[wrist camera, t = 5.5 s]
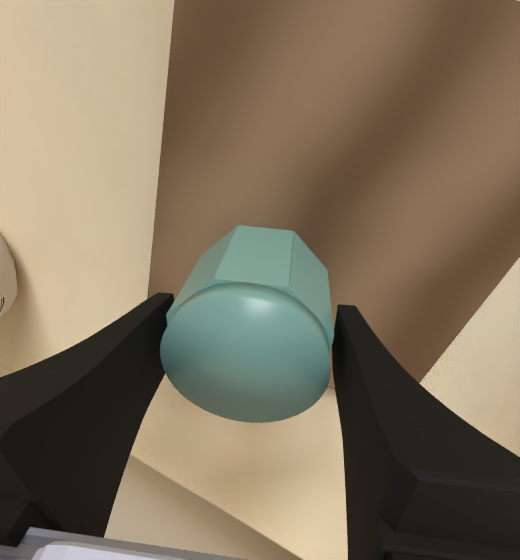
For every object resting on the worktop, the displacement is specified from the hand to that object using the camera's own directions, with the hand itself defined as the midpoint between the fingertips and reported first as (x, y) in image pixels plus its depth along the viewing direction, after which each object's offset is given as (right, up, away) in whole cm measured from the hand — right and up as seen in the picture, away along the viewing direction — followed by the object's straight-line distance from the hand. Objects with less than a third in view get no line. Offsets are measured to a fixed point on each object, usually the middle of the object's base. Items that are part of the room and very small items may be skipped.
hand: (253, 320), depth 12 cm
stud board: (+3, +4, +2) cm, 5 cm away
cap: (0, +1, +2) cm, 3 cm away
